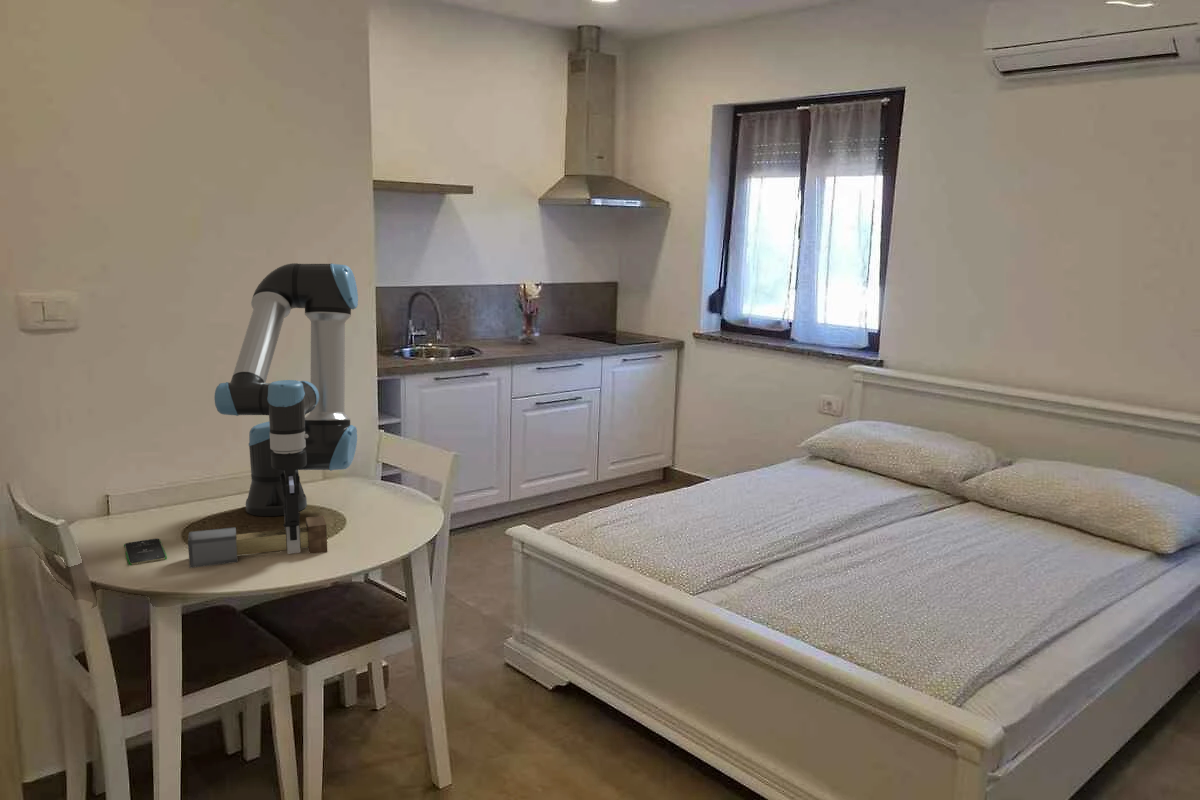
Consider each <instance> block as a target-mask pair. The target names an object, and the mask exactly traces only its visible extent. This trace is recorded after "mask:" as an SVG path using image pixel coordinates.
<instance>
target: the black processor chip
mask: <svg viewBox="0 0 1200 800" xmlns="http://www.w3.org/2000/svg"><path fill="white" fill-rule="evenodd" d="M123 549H124V551H125V556H126V559H127V564H128V565H129V566H137V565H143V564H149V563H154V562H160V561H161V562H162V561H167V559H168V557H167V554H166V552H165V548H164V547H163V543H162V541H161V539H160V538H150V539H143V540H138V541H130V542H125V543H124V544H123Z"/></svg>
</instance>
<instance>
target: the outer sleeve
mask: <svg viewBox="0 0 1200 800" xmlns="http://www.w3.org/2000/svg"><path fill="white" fill-rule="evenodd" d="M236 535H237V529H236V527H226V528H225V527H223V528H218V529H217V528H216V529H207V530H206V529H204V530H197V531H189V532H188V537H187V538H188V539H187V547H188V558H189V559H188V562H189V569H191V568H200V567H207V566H217V565H225V564H234V563H238V555H237V546H236Z"/></svg>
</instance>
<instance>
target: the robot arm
mask: <svg viewBox="0 0 1200 800" xmlns="http://www.w3.org/2000/svg"><path fill="white" fill-rule="evenodd" d="M353 272H354V271H352V269H351V267H350V266H348V265H346V264H338V263H297V262H296V263H295V262H294V263H293V262H292V263H287V264H284V265H281V266H279V267H277V268H275V269H273V270H272V271H271V272H270V273H268V274H267V275H266V276H265V277H264V278H263V279H262V280H261V281H260V283H259V284H258V286H257V287H256V288H255V290H254V293H253V295H252V297H251V298H252V299H251V303H250V304H251V307H252V311H251V312H252V313H251V316H250V319H249V322H248V326H247V329H246V332H245V335H244V338H243V341H242V344H241V348H240V351H239V354H238V356H237V361H236V363H235V366H234V370H233V373H232V377H231V380H230V381H229V382H227V381H226V382H220V383H218V385H217V386H216V388H215V390H214V397H213V398H214V399H213V401H214V405H215V408H216V410H217V412H218V413H219V414H221V415H223V416H224V415H226V416H236V417H238V416H268V421H266V422H261V423H257V424H256V425H254V426H253V427H251V428H250V430H249V433H248V434H249V437H248V441H249V443H248V447H249V461H250V463H249V464H250V479H251V480H250V481H251V483H250V487H249V491H248V494H247V498H246V501H245V512H246V513H247V514H249V515H253V516H258V517H278V516H284V507H285V506H286V516H287V523H286V524H285V523H283V528H285V527H286V533H287V550H286V551H287V554H288V555H289V554H298V553H301V548H300V536H299V524H300V517H301V514H300V512H301V511H302V510H304V509H306V507H307V505H308V503H307V502H308V501H307V496H306V494H305V492H304V489H303V485H302V483H301V481H300V480H301V479H300V474H299V471H331V472H332V471H338V470H346V469H348V468H349V467H350V466H351V465H352V463H353V461H354V459H355V455H356V451H357V450H356V449H357V444H358V434H357V433H358V430H357V427H356V426H355V425H353V424H351V418H350V417H349V416H348V415H347V414H346V412H345V374H346V373H345V370H346V366H345V363H346V360H345V359H346V358H345V357H346V356H345V355H346V354H345V353H346V352H345V351H346V347H345V346H346V345H345V344H346V343H345V342H346V322H347V320H349V319H350V318H351V316H352V310H355V309H357V308H358V305H359V304H358V303H359V294H358V287H357V282H356V279H355V274H354V273H353ZM293 309H304V315H305V317H307V319H308V320H309V321H310V381H307V380H294V379H291V380H290V379H286V380H285V379H282V380H276V381H272V382H268V383H267V380H268V375H269V372H270V367H271V365H272V361H273V358H274V355H275V352H276V351H275V350H276V347H277V344H278V341H279V336H280V333H281V330H282V326H283V322H284V320H285V318H287V317H288V316H289V315H290V313H291V310H293ZM307 414H308V415H307Z"/></svg>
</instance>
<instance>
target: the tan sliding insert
mask: <svg viewBox="0 0 1200 800" xmlns="http://www.w3.org/2000/svg"><path fill="white" fill-rule="evenodd" d="M283 517H284V524H286V523H287V516H286V506H285V507H284V515H283ZM299 536H300V549H301V548H302V549H304V548H308V547H309V539H308V528H307V527H306V526H304V527H301V526H300V524H299ZM236 546H237V556H242V555H250V554H251V555H252V554H260V553H266V552H267V553H268V552H276V551H278V552H279V551H287V533H286V527H284V529H277V530H269V531H268V530H267V531H260V532H259V531H258V532H248V533H239V534H236Z"/></svg>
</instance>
